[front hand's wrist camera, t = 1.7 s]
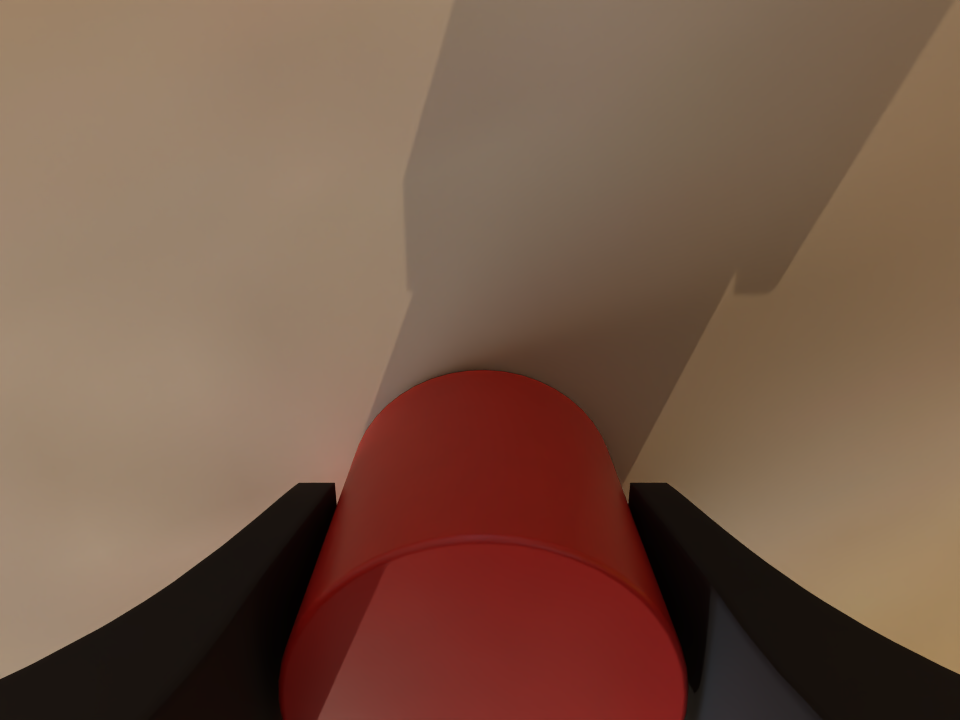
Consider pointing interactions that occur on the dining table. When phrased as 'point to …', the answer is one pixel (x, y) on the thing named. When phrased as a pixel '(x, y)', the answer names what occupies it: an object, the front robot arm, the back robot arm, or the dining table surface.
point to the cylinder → (483, 572)
